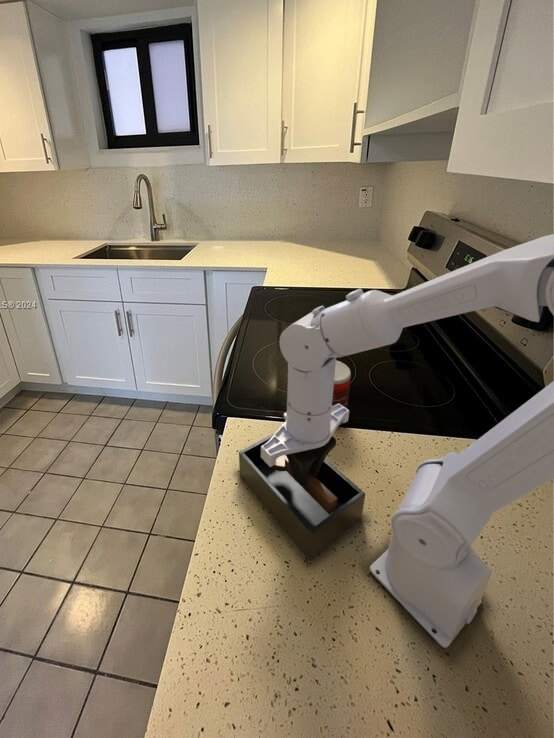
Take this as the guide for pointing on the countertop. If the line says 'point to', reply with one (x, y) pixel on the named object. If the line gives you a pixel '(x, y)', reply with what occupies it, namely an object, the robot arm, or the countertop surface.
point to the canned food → (341, 385)
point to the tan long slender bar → (310, 486)
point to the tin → (302, 500)
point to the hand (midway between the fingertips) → (304, 476)
